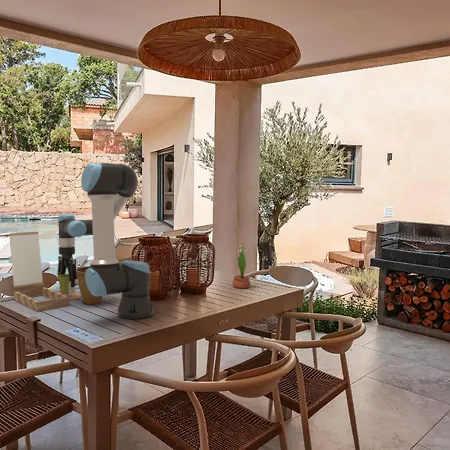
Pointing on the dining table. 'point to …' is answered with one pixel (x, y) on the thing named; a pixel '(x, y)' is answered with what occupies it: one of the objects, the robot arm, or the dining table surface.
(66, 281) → the plant pot
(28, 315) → the dining table surface
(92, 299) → the plant pot
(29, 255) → the frame lid
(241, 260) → the potted flower
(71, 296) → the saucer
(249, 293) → the dining table surface
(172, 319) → the dining table surface
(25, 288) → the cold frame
